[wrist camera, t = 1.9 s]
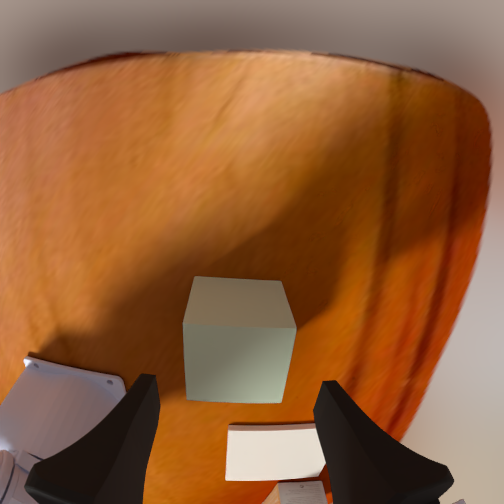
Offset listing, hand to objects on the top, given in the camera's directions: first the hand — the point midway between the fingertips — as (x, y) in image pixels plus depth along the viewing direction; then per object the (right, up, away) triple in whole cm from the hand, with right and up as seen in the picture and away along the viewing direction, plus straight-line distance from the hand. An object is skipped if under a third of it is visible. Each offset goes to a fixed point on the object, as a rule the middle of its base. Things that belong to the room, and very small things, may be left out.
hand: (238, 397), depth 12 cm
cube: (0, +2, +7) cm, 7 cm away
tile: (+3, -13, +12) cm, 18 cm away
